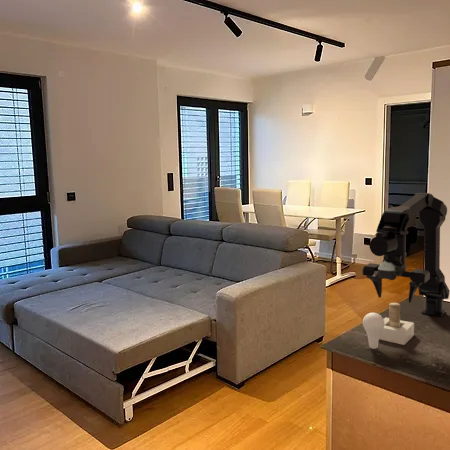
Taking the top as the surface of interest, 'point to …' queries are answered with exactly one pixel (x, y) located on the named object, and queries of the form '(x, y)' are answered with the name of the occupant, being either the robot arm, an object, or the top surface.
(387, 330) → the socket
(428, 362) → the top surface
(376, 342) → the lightbulb
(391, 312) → the dowel
